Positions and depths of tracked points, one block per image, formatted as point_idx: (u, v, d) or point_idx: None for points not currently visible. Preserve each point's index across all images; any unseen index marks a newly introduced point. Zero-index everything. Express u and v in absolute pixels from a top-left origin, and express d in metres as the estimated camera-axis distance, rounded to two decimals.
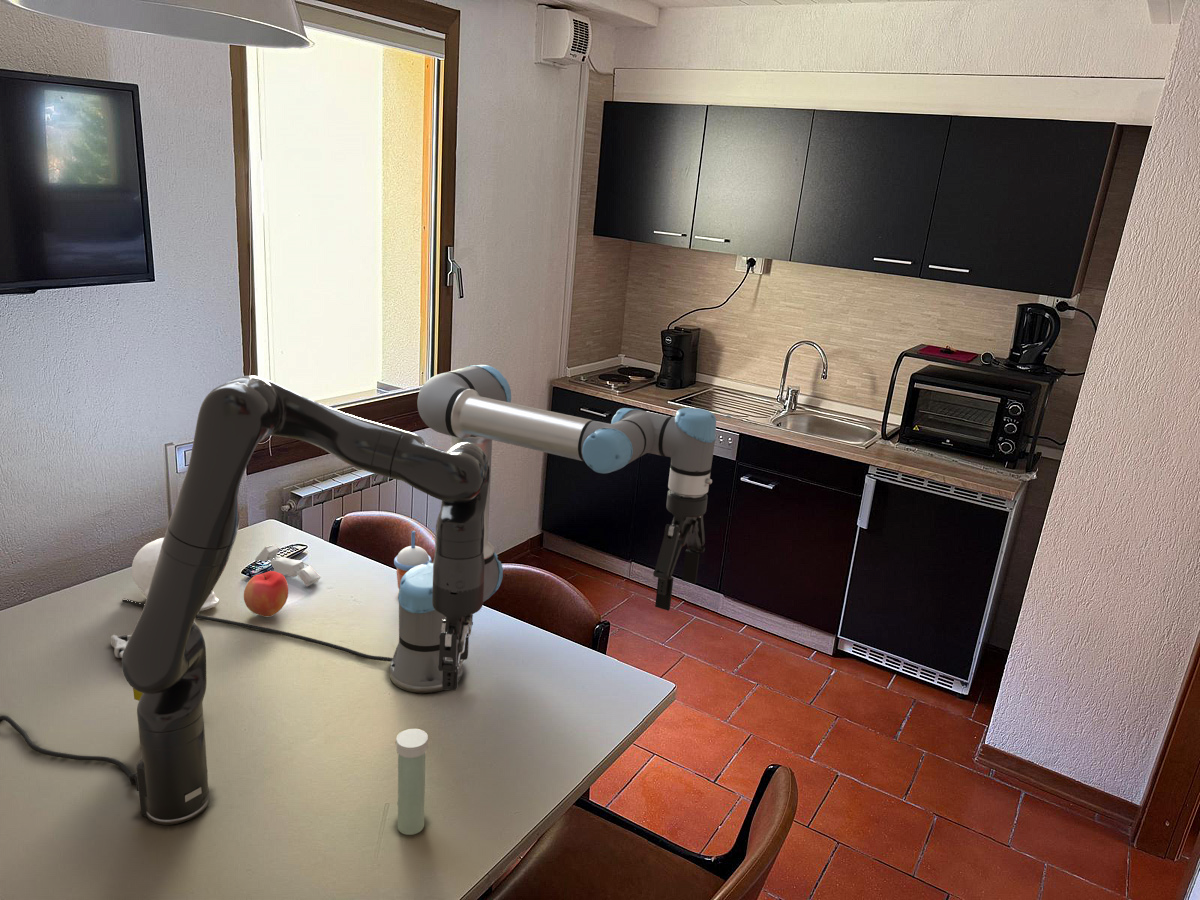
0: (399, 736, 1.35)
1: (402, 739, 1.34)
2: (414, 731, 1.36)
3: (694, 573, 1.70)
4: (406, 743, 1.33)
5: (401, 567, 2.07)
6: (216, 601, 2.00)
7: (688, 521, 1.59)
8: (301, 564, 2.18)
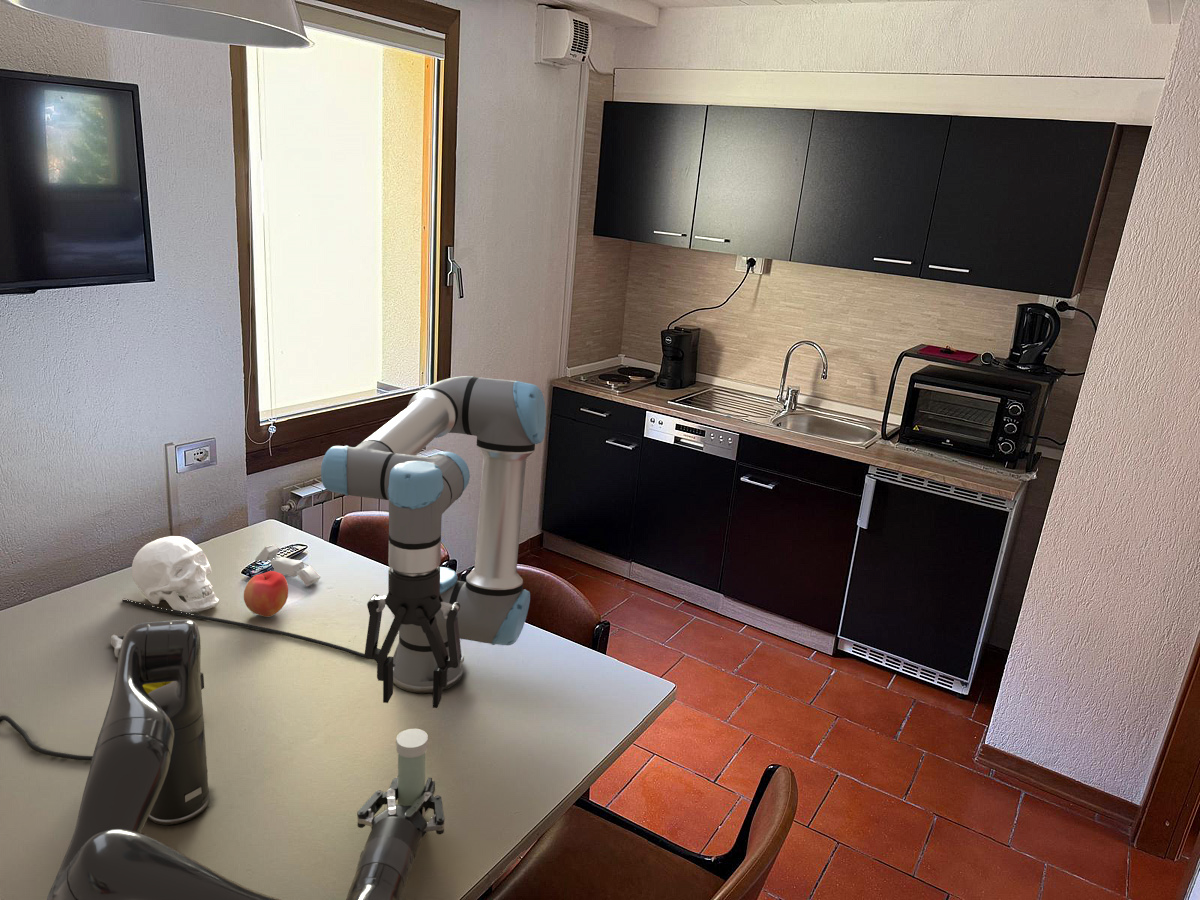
0: (399, 736, 1.35)
1: (402, 739, 1.34)
2: (414, 731, 1.36)
3: (392, 681, 1.33)
4: (406, 743, 1.33)
5: None
6: (216, 601, 2.00)
7: None
8: (301, 564, 2.18)
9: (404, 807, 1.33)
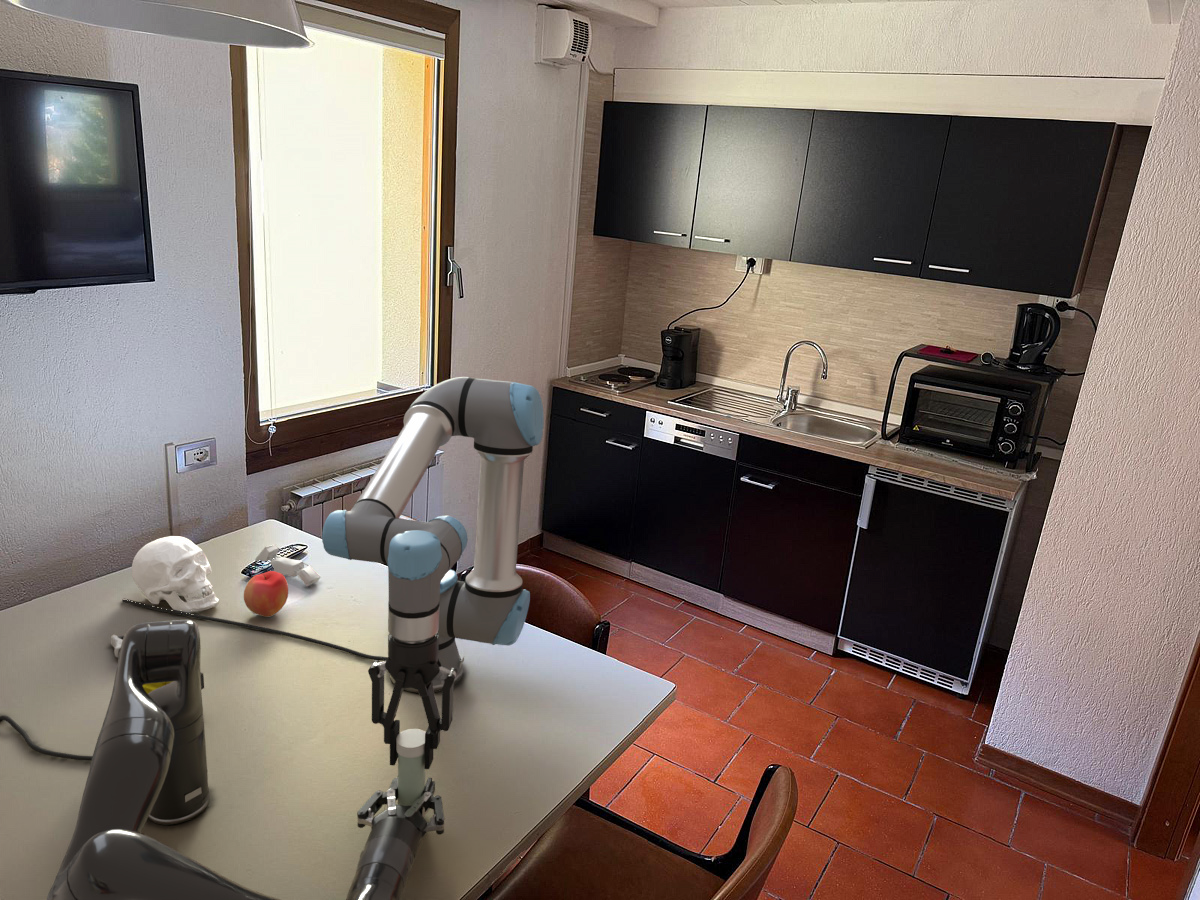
0: (399, 736, 1.35)
1: (402, 739, 1.34)
2: (414, 731, 1.36)
3: None
4: (406, 743, 1.33)
5: None
6: (216, 601, 2.00)
7: None
8: (301, 564, 2.18)
9: (404, 807, 1.33)
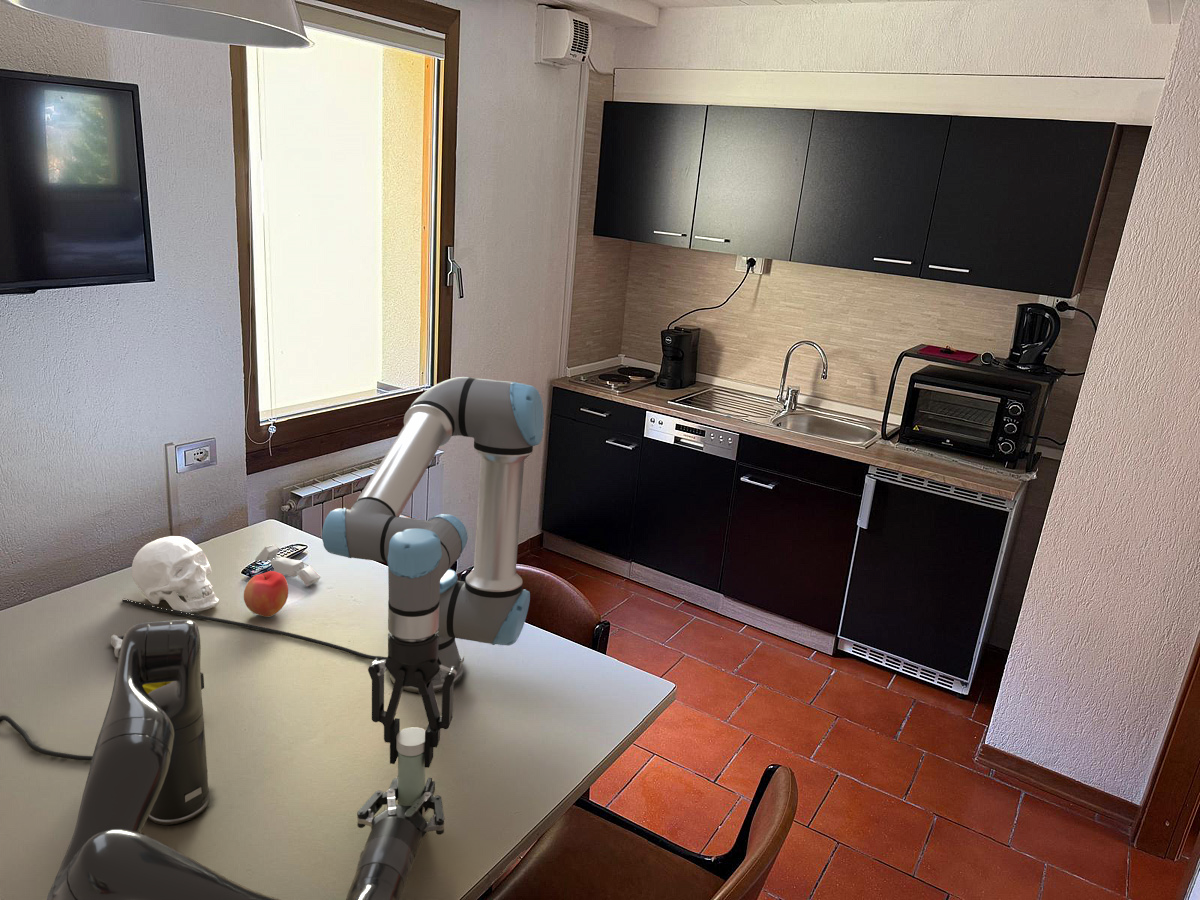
0: (409, 744, 1.33)
1: (414, 741, 1.34)
2: (401, 736, 1.35)
3: None
4: (421, 738, 1.34)
5: None
6: (216, 601, 2.00)
7: None
8: (301, 564, 2.18)
9: (404, 807, 1.33)
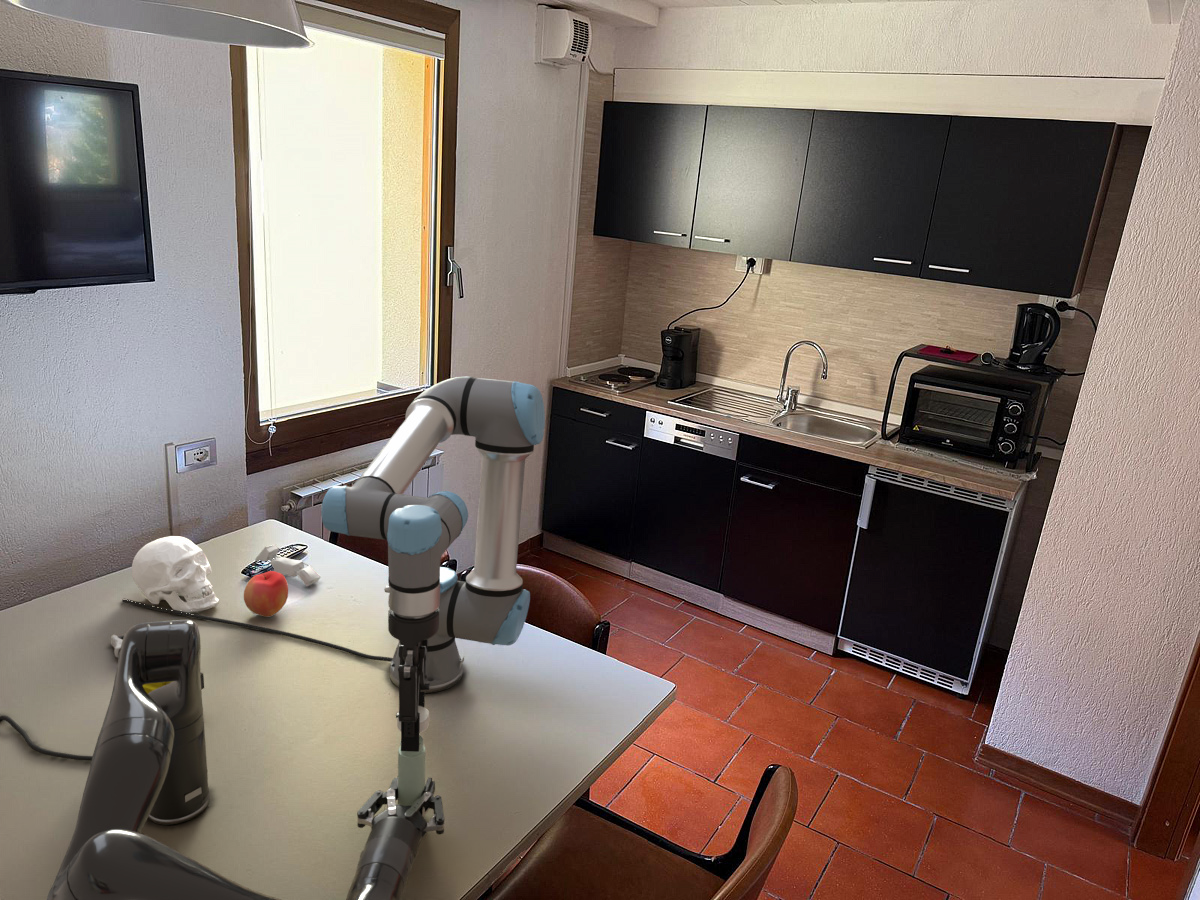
0: (426, 714, 1.34)
1: (422, 711, 1.35)
2: None
3: None
4: None
5: None
6: (216, 601, 2.00)
7: None
8: (301, 564, 2.18)
9: (404, 807, 1.33)
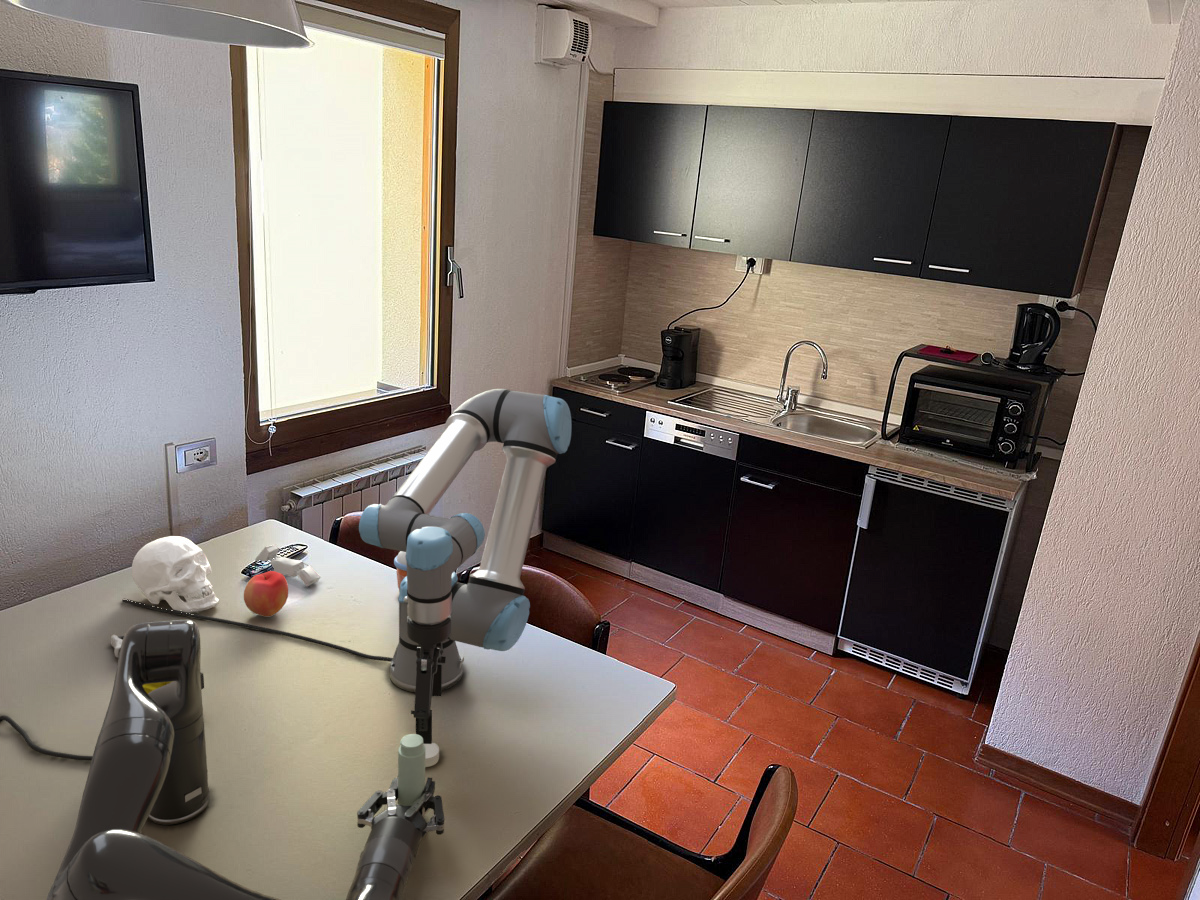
0: (437, 749, 1.56)
1: (433, 747, 1.56)
2: (425, 755, 1.54)
3: None
4: (428, 744, 1.57)
5: (401, 567, 2.07)
6: (216, 601, 2.00)
7: None
8: (301, 564, 2.18)
9: (404, 807, 1.33)
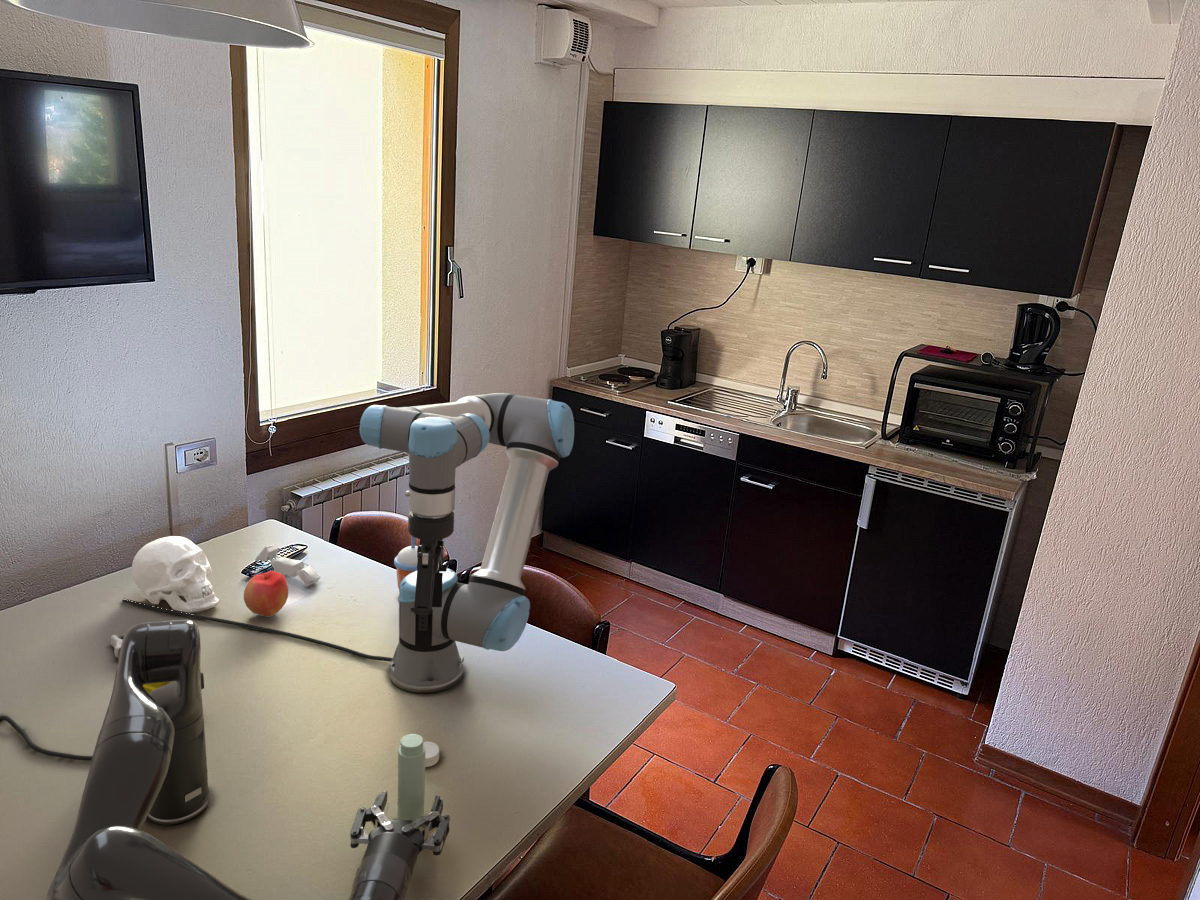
0: (437, 749, 1.56)
1: (433, 747, 1.56)
2: (425, 755, 1.54)
3: None
4: (428, 744, 1.57)
5: (401, 567, 2.07)
6: (216, 601, 2.00)
7: None
8: (301, 564, 2.18)
9: (401, 822, 1.31)
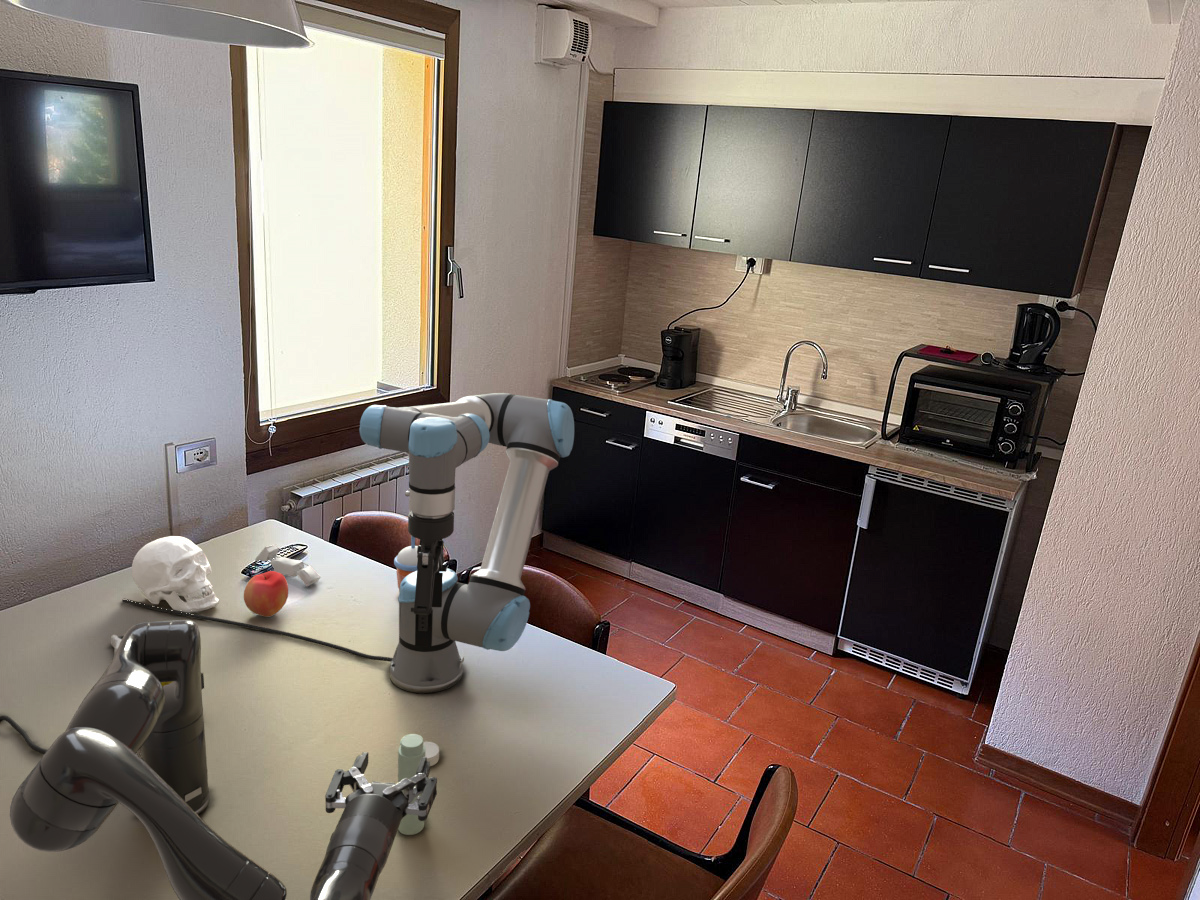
0: (437, 749, 1.56)
1: (433, 747, 1.56)
2: (425, 755, 1.54)
3: None
4: (428, 744, 1.57)
5: (401, 567, 2.07)
6: (216, 601, 2.00)
7: None
8: (301, 564, 2.18)
9: (383, 784, 1.17)
